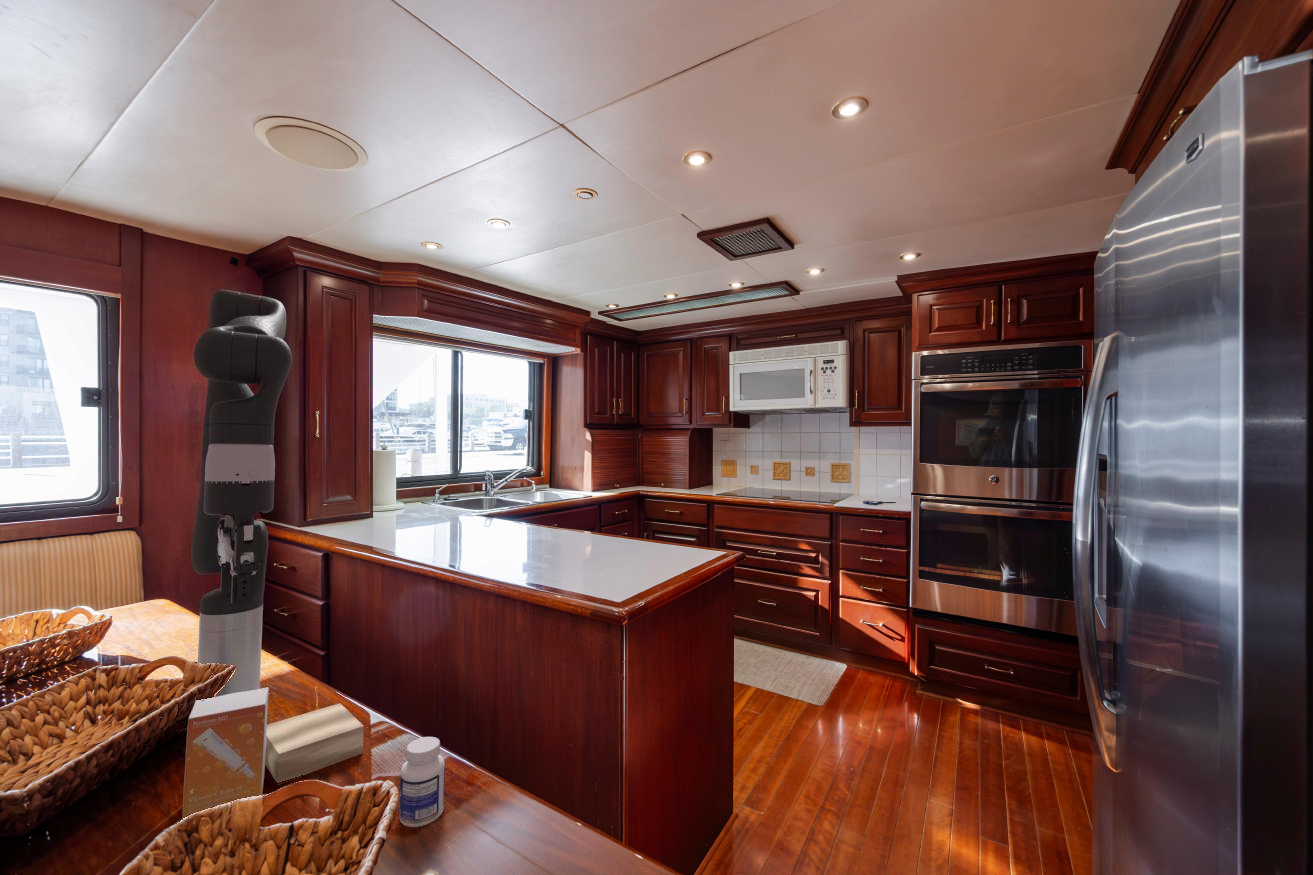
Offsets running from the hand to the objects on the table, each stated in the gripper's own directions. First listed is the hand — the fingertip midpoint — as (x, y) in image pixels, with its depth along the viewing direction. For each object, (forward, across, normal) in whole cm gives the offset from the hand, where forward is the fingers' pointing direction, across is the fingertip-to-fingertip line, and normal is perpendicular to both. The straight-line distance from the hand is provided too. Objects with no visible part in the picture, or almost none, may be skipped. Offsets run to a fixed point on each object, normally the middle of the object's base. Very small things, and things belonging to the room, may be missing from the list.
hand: (236, 598), depth 72 cm
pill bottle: (+27, +21, +17) cm, 38 cm away
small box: (+27, 0, 0) cm, 27 cm away
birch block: (+27, -5, +11) cm, 29 cm away
